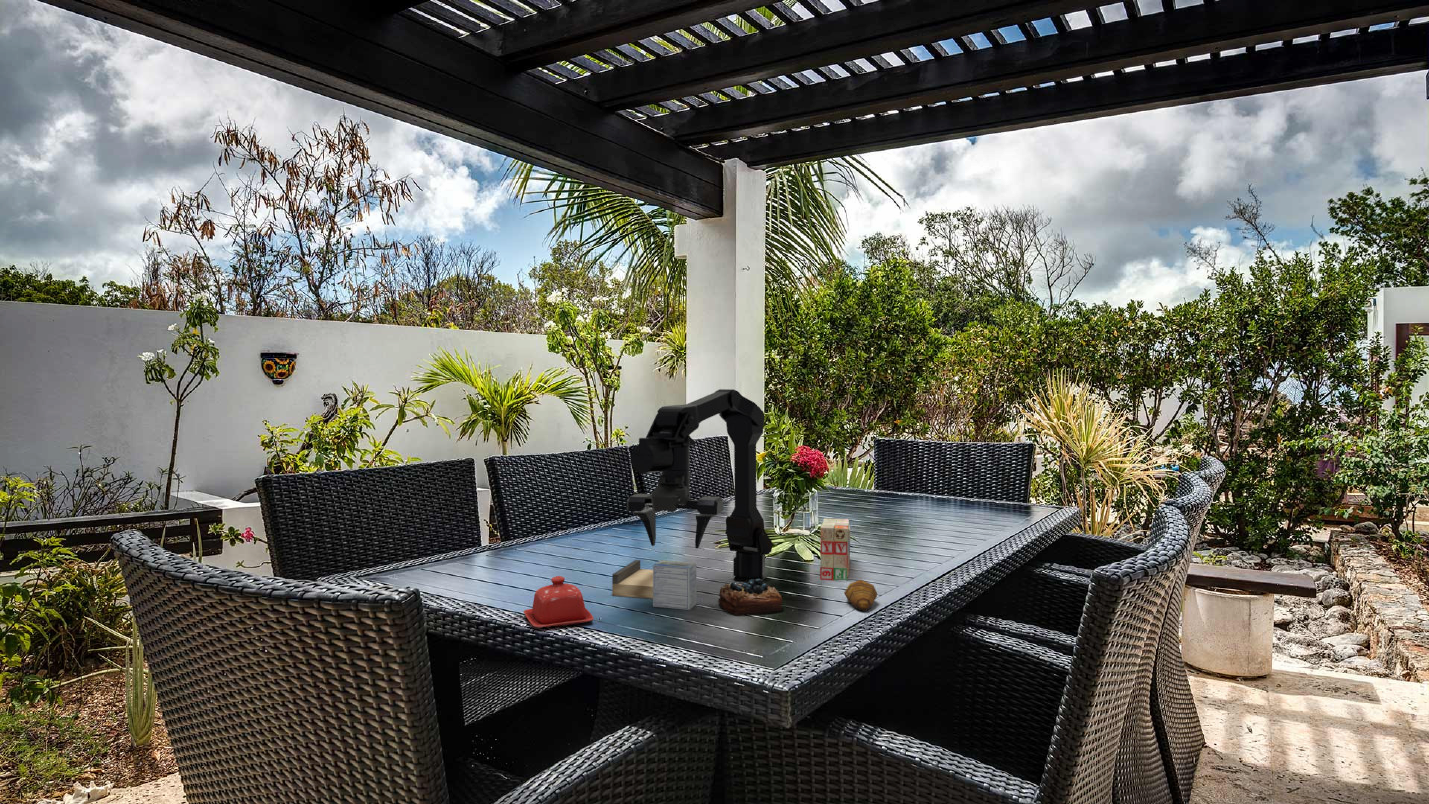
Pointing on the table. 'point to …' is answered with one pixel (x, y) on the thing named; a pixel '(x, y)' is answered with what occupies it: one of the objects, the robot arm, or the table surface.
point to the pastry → (749, 598)
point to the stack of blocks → (835, 549)
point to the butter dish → (558, 605)
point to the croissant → (861, 594)
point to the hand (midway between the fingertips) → (675, 546)
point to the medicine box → (674, 584)
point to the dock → (633, 581)
